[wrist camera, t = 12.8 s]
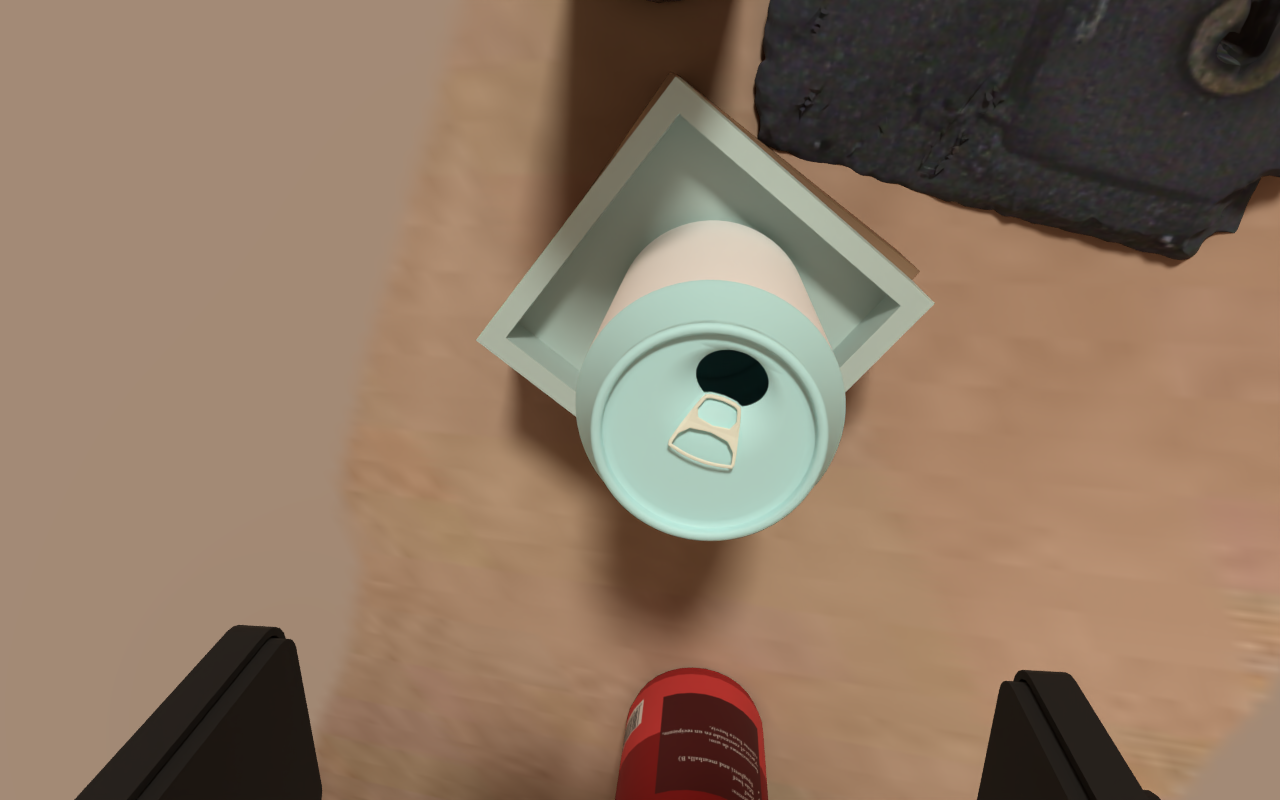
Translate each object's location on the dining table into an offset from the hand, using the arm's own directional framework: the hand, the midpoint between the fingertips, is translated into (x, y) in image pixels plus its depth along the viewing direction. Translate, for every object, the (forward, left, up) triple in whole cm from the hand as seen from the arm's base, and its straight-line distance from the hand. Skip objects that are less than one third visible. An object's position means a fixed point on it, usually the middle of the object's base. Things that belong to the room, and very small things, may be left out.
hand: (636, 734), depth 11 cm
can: (+1, 0, -22) cm, 22 cm away
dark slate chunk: (+17, -1, -28) cm, 33 cm away
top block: (0, 0, -23) cm, 23 cm away
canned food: (-16, -20, -28) cm, 38 cm away
